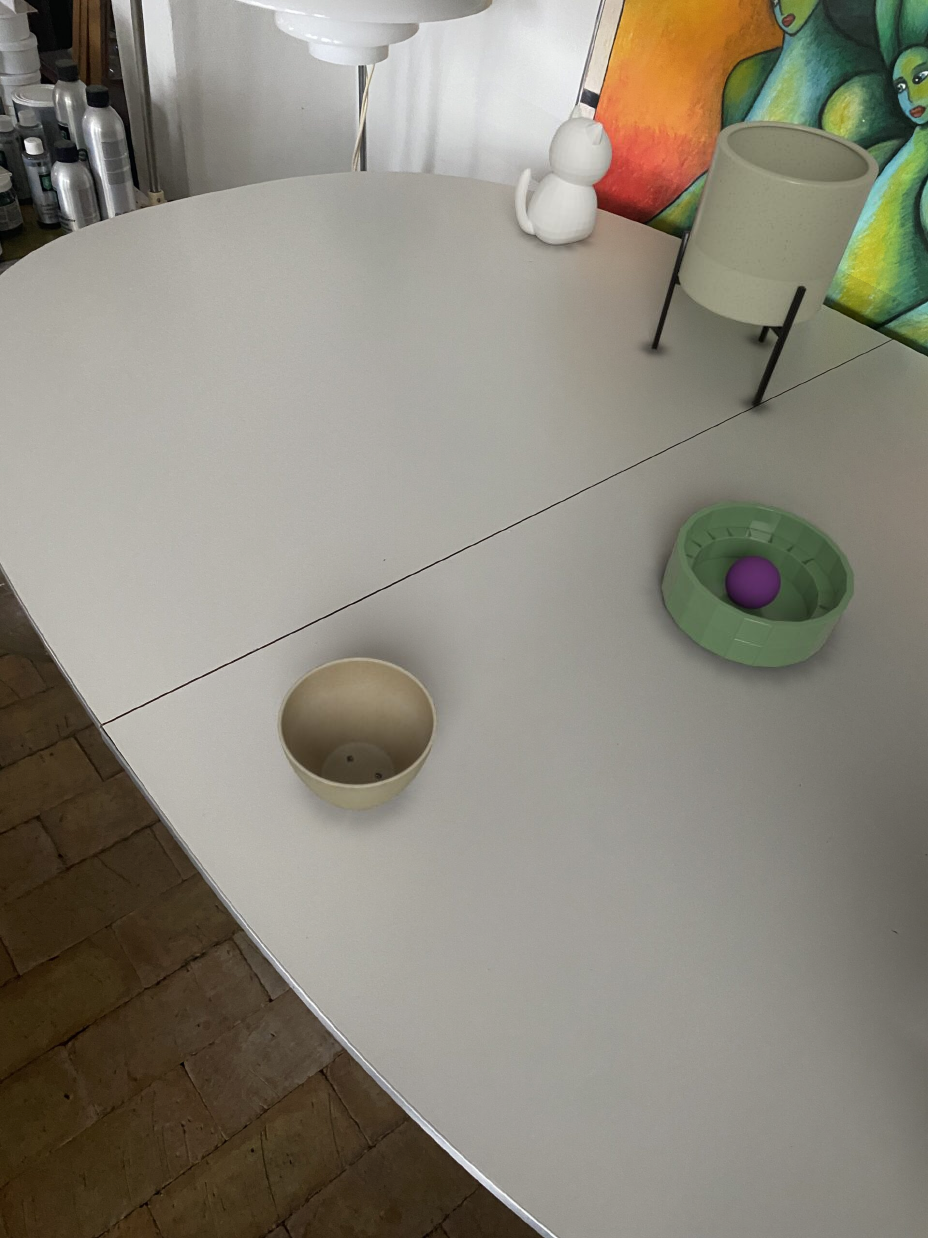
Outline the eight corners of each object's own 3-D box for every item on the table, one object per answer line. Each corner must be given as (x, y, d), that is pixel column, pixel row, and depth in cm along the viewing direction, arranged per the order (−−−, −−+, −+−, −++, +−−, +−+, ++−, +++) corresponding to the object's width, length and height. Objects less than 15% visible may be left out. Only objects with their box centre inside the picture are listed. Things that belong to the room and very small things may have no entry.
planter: (659, 315, 106) (717, 107, 88) (791, 344, 104) (876, 137, 86) (642, 382, 96) (704, 162, 78) (787, 416, 94) (883, 198, 77)
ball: (782, 606, 74) (799, 567, 71) (748, 627, 72) (764, 588, 69) (742, 577, 76) (756, 538, 73) (708, 596, 74) (722, 557, 71)
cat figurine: (609, 246, 116) (635, 125, 105) (525, 256, 113) (543, 132, 101) (578, 216, 122) (600, 98, 110) (497, 225, 118) (511, 103, 107)
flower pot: (440, 834, 58) (448, 778, 53) (287, 851, 56) (279, 795, 51) (420, 711, 64) (426, 650, 59) (283, 723, 63) (275, 661, 57)
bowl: (860, 624, 74) (889, 580, 70) (752, 699, 68) (776, 655, 64) (735, 527, 81) (755, 481, 77) (626, 586, 75) (641, 540, 71)
